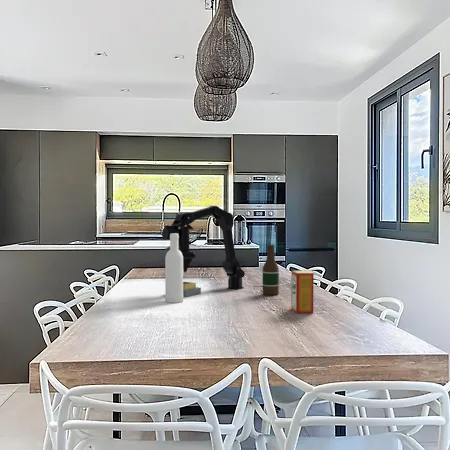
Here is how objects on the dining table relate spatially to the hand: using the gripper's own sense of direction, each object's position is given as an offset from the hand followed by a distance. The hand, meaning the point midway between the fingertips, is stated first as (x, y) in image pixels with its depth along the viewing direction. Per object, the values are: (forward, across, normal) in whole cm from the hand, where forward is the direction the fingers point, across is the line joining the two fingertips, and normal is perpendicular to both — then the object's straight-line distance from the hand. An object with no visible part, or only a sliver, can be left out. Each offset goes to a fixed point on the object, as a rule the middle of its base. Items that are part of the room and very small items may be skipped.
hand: (183, 271), depth 233 cm
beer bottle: (+11, +16, +39) cm, 43 cm away
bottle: (+11, +16, -10) cm, 22 cm away
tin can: (+2, 0, 0) cm, 2 cm away
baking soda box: (+11, +56, +32) cm, 65 cm away
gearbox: (+11, -1, -1) cm, 11 cm away
